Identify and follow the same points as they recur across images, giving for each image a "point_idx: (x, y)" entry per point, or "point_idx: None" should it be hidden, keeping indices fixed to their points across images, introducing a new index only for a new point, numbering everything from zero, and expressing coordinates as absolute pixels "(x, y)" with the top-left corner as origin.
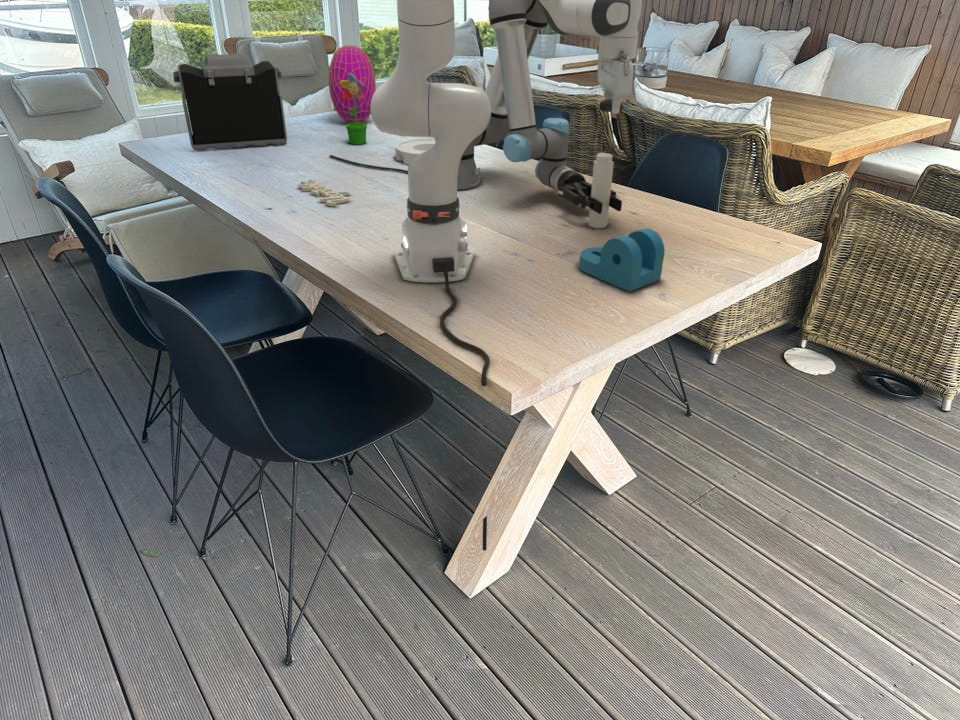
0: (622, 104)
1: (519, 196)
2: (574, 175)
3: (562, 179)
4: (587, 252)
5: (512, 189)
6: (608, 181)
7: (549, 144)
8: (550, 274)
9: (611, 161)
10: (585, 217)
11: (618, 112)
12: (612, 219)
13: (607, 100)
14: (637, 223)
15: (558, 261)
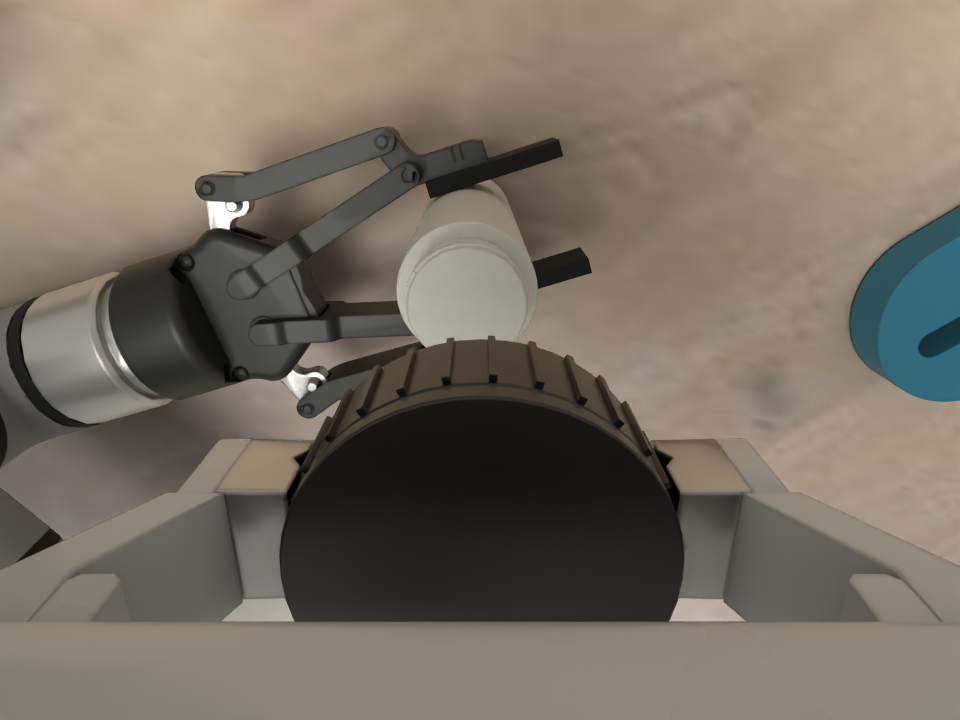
0: (545, 380)
1: (101, 472)
2: (195, 342)
3: (203, 391)
4: (921, 372)
5: (4, 487)
6: (521, 236)
7: (9, 547)
8: (924, 473)
9: (496, 247)
10: (366, 248)
11: (746, 447)
12: (392, 125)
13: (385, 618)
14: (452, 5)
15: (828, 434)
